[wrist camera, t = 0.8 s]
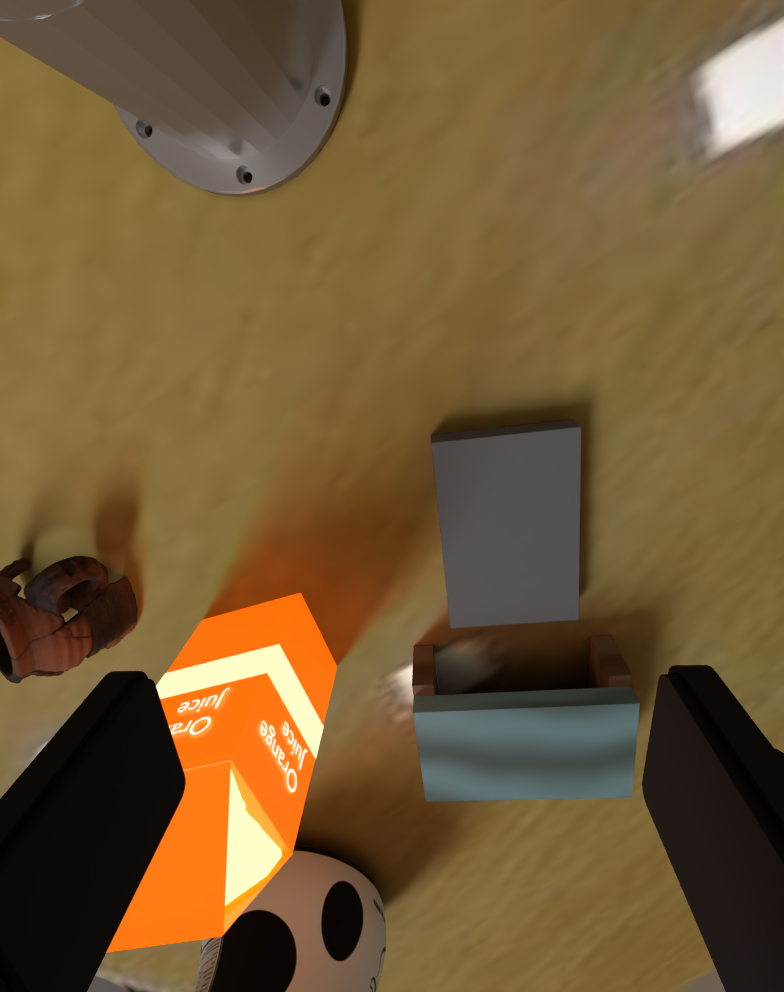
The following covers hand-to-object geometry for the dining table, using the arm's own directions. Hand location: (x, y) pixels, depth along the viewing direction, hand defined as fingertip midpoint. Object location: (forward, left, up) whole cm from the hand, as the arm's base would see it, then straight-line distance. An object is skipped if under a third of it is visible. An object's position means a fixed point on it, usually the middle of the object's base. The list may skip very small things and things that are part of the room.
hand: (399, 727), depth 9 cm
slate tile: (+8, +5, -25) cm, 27 cm away
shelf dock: (+23, +5, -25) cm, 34 cm away
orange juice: (+17, -14, -25) cm, 33 cm away
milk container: (+48, -17, -25) cm, 57 cm away
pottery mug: (+11, -28, -25) cm, 39 cm away
